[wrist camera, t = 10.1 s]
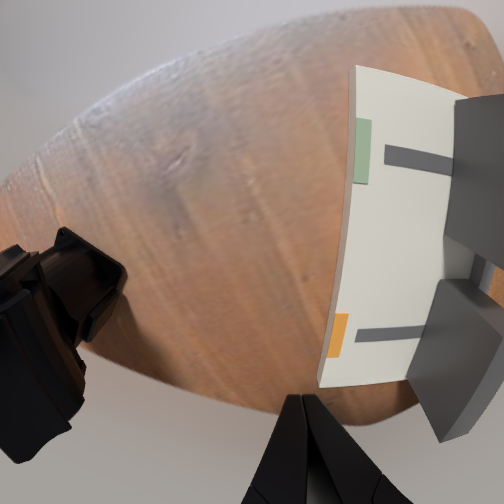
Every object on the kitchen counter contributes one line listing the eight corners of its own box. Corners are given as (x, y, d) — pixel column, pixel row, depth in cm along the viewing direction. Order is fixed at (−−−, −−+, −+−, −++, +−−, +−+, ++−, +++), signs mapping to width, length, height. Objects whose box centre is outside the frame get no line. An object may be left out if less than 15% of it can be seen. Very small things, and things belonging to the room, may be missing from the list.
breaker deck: (316, 375, 24) (321, 400, 21) (349, 70, 15) (363, 58, 13) (436, 363, 23) (449, 382, 20) (489, 112, 15) (512, 111, 12)
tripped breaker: (406, 376, 21) (439, 443, 14) (440, 279, 18) (503, 337, 11) (431, 372, 21) (467, 433, 14) (466, 278, 18) (528, 331, 11)
